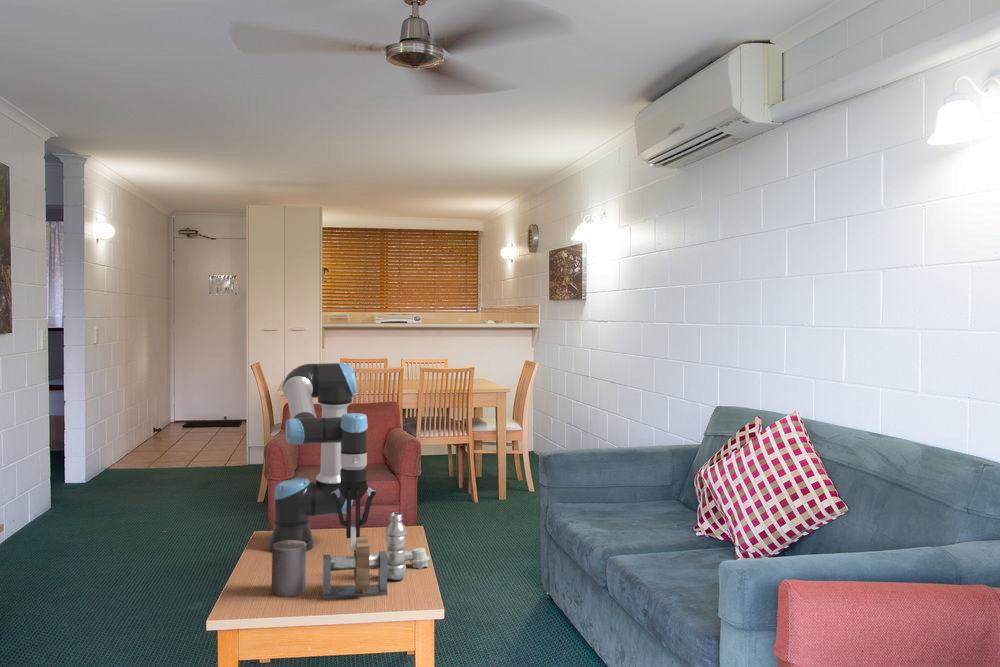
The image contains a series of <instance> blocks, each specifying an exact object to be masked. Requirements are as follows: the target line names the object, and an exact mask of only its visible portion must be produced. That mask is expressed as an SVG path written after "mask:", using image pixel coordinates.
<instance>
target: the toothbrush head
mask: <svg viewBox="0 0 1000 667" xmlns="http://www.w3.org/2000/svg"><path fill="white" fill-rule="evenodd" d="M376 554H379V552H378V553H376ZM386 554H387V552H386ZM404 554H405V562H409V563H411V568H413V569H418V570H420V569H424V568H425V567H426V568H428V567H429V566H430V561H431V560H430V559H431V558H430V556H429V555H427V552H426V549H425V547H416V548H414V549H412V550H411V549H410V550H405V552H404Z"/></svg>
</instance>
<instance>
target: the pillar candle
mask: <svg viewBox="0 0 1000 667" xmlns="http://www.w3.org/2000/svg"><path fill="white" fill-rule="evenodd" d="M271 552H272V553H271V594H272V595H273V596H276V597H281V598H284V597H285V598H288V597H289V598H290V597H296V596H300V595H302V594H303V593H304V592H305V591H306V583H307V582H306V580H307V579H306V577H307V576H306V574H307V572H306V571H307V570H306V569H307V551H306V542H302V541H297V540H286V541H280V542H277V543H275V544H273V546H272V551H271Z"/></svg>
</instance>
